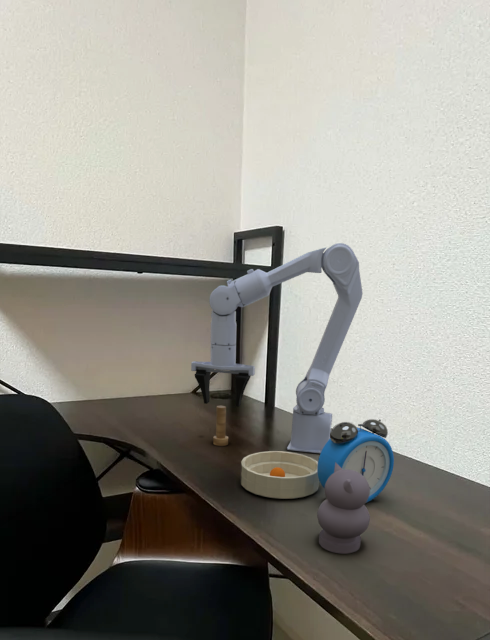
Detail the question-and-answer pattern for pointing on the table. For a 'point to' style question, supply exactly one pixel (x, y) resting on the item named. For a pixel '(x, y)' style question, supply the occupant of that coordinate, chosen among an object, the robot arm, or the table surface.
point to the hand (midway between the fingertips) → (222, 404)
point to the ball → (277, 472)
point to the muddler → (220, 427)
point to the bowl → (294, 485)
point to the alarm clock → (359, 454)
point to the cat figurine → (344, 511)
